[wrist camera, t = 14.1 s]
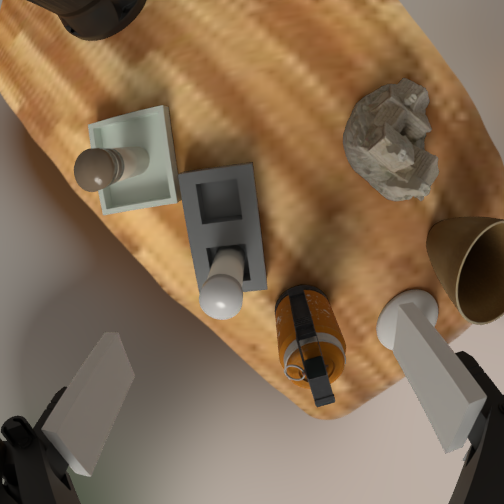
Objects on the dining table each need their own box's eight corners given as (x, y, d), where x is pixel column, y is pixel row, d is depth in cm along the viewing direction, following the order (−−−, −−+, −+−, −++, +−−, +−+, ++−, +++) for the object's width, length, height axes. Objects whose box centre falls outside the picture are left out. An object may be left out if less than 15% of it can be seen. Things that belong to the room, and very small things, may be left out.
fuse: (212, 243, 48) (195, 283, 35) (244, 240, 48) (239, 279, 34) (217, 273, 49) (203, 321, 36) (248, 270, 49) (245, 317, 36)
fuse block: (182, 171, 45) (176, 174, 42) (252, 162, 45) (252, 163, 41) (202, 284, 51) (198, 296, 47) (266, 278, 51) (267, 289, 47)
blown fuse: (119, 148, 44) (71, 154, 30) (148, 141, 43) (106, 143, 30) (124, 179, 45) (78, 195, 32) (153, 173, 45) (113, 187, 32)
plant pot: (483, 248, 48) (536, 282, 33) (425, 294, 51) (470, 343, 36) (457, 180, 45) (519, 199, 29) (392, 229, 48) (442, 266, 33)
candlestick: (366, 312, 53) (438, 447, 24) (428, 276, 50) (531, 382, 22) (387, 359, 56) (445, 482, 28) (442, 327, 54) (522, 432, 26)
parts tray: (97, 125, 43) (88, 124, 40) (168, 107, 42) (162, 105, 39) (111, 211, 47) (103, 215, 44) (182, 199, 47) (177, 203, 44)
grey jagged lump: (391, 215, 47) (441, 236, 32) (321, 135, 44) (352, 123, 29) (449, 152, 44) (507, 153, 29) (386, 74, 41) (434, 46, 26)
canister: (283, 336, 54) (293, 423, 35) (263, 281, 51) (266, 360, 32) (333, 321, 53) (363, 403, 34) (318, 264, 50) (351, 336, 31)
